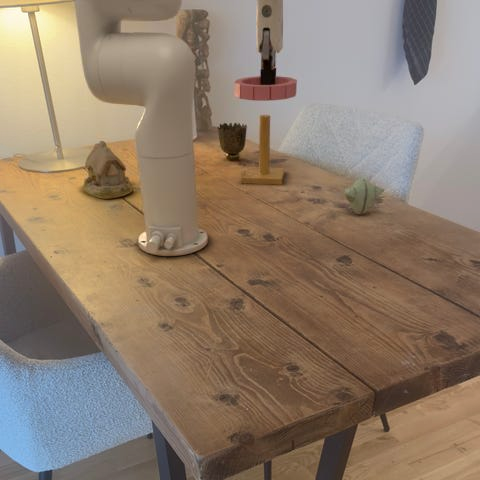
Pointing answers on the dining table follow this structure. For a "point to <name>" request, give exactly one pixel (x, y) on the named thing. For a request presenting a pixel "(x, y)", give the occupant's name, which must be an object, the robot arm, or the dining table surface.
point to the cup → (232, 139)
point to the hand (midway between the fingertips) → (268, 88)
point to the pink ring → (265, 89)
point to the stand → (264, 159)
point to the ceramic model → (105, 174)
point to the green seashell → (362, 195)
